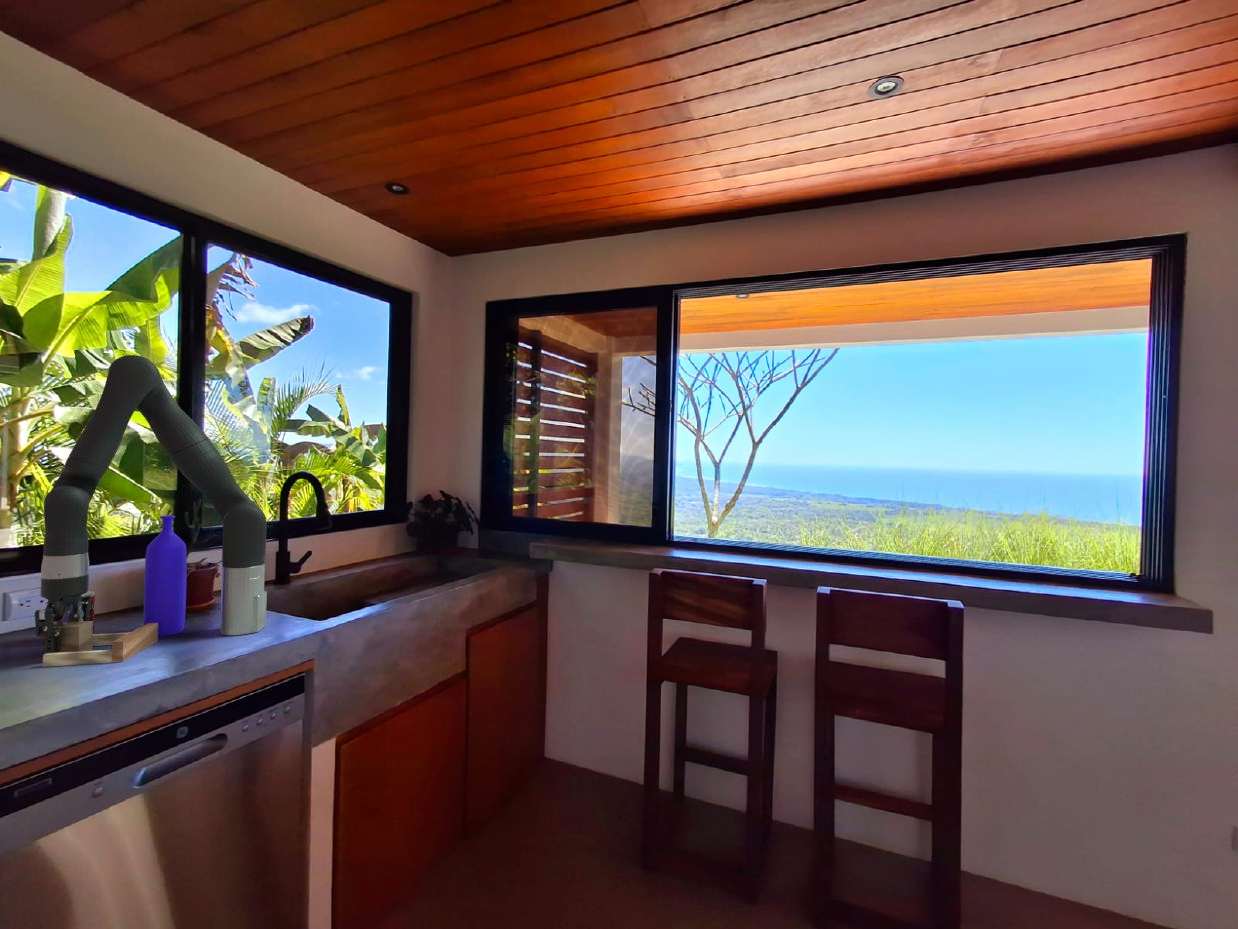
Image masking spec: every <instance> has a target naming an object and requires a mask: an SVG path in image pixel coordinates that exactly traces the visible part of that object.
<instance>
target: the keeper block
mask: <svg viewBox="0 0 1238 929" xmlns="http://www.w3.org/2000/svg"><path fill="white" fill-rule="evenodd" d="M56 627H57V626H54V631H55V630H56ZM92 633H93V621H79V622H67V624H66V625H65V626H63V628H62V631H61V634H60V652H59V653H63V652H80V651H93V646H92ZM44 654H46V653H45V652H44Z"/></svg>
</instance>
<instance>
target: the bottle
mask: <svg viewBox="0 0 1238 929" xmlns="http://www.w3.org/2000/svg"><path fill="white" fill-rule="evenodd" d="M159 518H160V519H161V520H162V528H161V532H160V533H159V534H158V535H157V536H155V537H154V539H153V540H152V541H151V542H150V543H149V544H148V545H147V547H146V552H145V560H144V561H145V562H144V581H143V582H144V583H143V585H144V586H143V587H144V588H143V626H144V625H146V624H148V623H158V638H159V637H167V636H171V635H175V634H179V633H181V632H182V631H183V630H184V628H185V624H186V623H185V622H186V602H187V570H188V568H187V563H188V561H187V560H188V559H187V558H188V557H187V556H188V555H187V545H186V543H185V542H184V540H183V539H182V538H180V536H178V535H177V534H176V533H175V532H174V530H173V520H174V519H175V518H176V515H160V516H159Z"/></svg>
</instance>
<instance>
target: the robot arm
mask: <svg viewBox="0 0 1238 929" xmlns="http://www.w3.org/2000/svg"><path fill="white" fill-rule="evenodd" d="M162 378H163V377H162V376H161V373H160V371H159V368H158V367H157V366H156V364H155V363H154V362H152V361H151V360H150V359H148V358H147V357H144V356H141V355H137V354H127V355H122V356H119V357H118V358H116V359H114V360H113V361H112V362H111V363H110V365H109V368H108V372H107V376H106V380H105V384H104V387H103V389H102V393H101V396H100V398H99V400H98V403H97V405H96V407H95V408H94V411H93V413H92V415H91V417H90V418H89V420H88V422H87V424H86V425H85V427H84V429H82V432H81V433H80V435H79V437H78V438H77V441H76V442H75V444H74V446H73V447H72V450H71V451H70V453H69V455H68V457H67V458H66V460H65V463H64V467H63V470H62V472H61V474H60V475H59V476H58V479H57V480H56V482H55V483H54V485H53V487H52V488H51V490H50V491H49V492H47V494H46V495H45V497H44V500H43V520H44V529H45V532H44V537H43V555H42V556H43V557H42V562H41V568H40V569H41V570H40V574H41V575H40V597H41V598H43V599H46V600H47V604H46V606H45V608H44V609H36V610H35V612H34V621H35V632H36V634H35V635H36V637H37V638H39V637H40V638H44V640H45V641H44V654H45V653H59V652H60V634H61V631H62V628H63V626H65V625H66V624H67V622H79V621H88V620H89V614H90V606H91V596H81V595H82V594H85V593H87V592H88V591H90V590H89V589H90V588H89V587H90V586H89V585H90V582H89V581H90V559H89V532H88V529H87V528H88V519H89V506H90V503H91V500H92V498H93V496H94V495H95V492H96V490H97V489H98V488H97V487H98V486H99V483H100V482H101V479H102V478H103V476H104V475H105V474H106V472H107V471H108V469H109V468H110V465H111V464H112V462H113V460H114V458H115V456H116V454H117V453H118V450H119V448H120V446H121V444H122V440H123V438H124V436H125V433H126V430H127V427H128V425H129V422H130V420H131V418H132V416H133V415H134V413H135V411H136V409H137V411H138V412H139V413H140V414H141V415H142V417H144V419H145V420H146V422H147V423H148V425H149V426H150V428H151V431H152V433H153V434H154V436H155V438H156V440H157V441H158V443H159V445H160V446H161V448H162V449H163V451H164V452H165V454H166V455H167V456H168V458H169V459H170V461H172V463H173V465H174V466H176V468H177V469H178V470H179V472H180V473H181V474H182V475H183V476H184V477H185V478H186V480H188V481H189V482H190V483H191V484H192V485H193V486H194V487H196V489H197V490H199V491H200V492H201V493H202V494H203V495H204V496H205V497H206V498H207V499H208V501H209V502H210V503H211V505H212V506H213V508H214V510H215V511H216V513H217V514H218V517H220V520H221V521H222V552H221V554H222V555H221V562H222V563H221V587H220V588H221V593H220V594H221V596H220V624H219V625H220V632H219V633H220V635H224V636H240V635H247V634H252V633H259V632H260V631H261V630H262V629H263V628H265V627H266V626H267V625H266V624H267V601H268V600H267V598H268V597H267V596H268V595H267V594H268V592H267V591H266V590H265V568H266V566H265V565H266V564H265V563H266V552H267V545H266V544H267V517H266V515H265V512H264V511H263V509H261V508H260V507H259V506H258V505H257V504H256V503H255V502H254V501H253V500H252V499H251V498H250V497H249V496H248V494H246V493H245V491H244V490H243V488H241V486H239V484H238V483H237V481H236V480H235V478H234V476H233V474H232V472H231V470H230V468H229V466H228V464H227V463H226V461H225V460H224V458H223V456H222V455H221V454H220V451H218V449H217V447H216V446H215V445H214V444H213V442H212V440H211V439H210V438H209V436H207V435H206V433H205V432H204V431H203V430H202V428H201V427H200V426H199V425H198V424H197V423H196V422H195V421H194V420H193V419H192V418H191V417H190V416H189V415H188V414H187V413H186V412H185V411H184V410H183V409H182V408H181V406H179V404H178V403H177V402H176V400H175V398H174V397H173V395H172V394H171V392H170V391H169V389H168V388H167V385H166V384H165V382H164V380H163V379H162ZM83 611H84V614H83ZM83 615H84V617H83ZM54 621H59V622H54ZM54 626H57V627H56V630H55V631H54Z"/></svg>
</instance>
